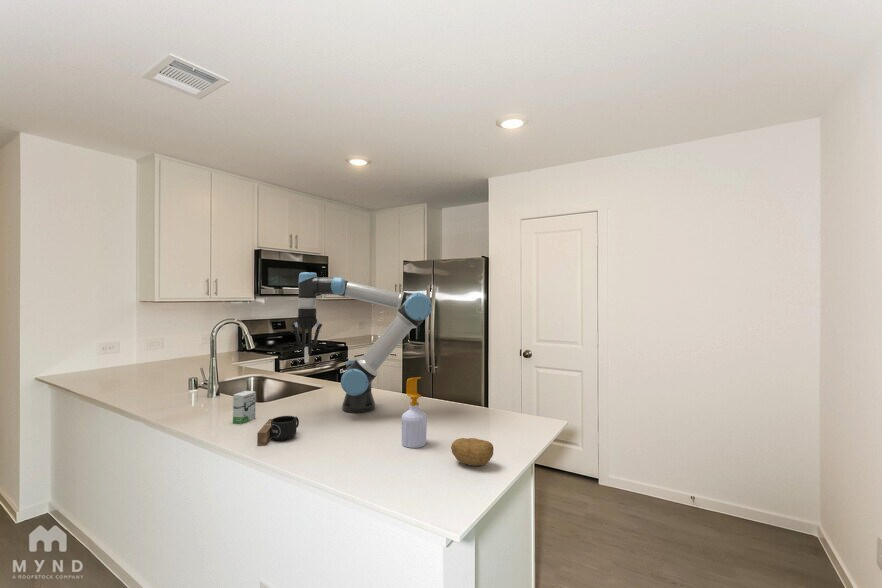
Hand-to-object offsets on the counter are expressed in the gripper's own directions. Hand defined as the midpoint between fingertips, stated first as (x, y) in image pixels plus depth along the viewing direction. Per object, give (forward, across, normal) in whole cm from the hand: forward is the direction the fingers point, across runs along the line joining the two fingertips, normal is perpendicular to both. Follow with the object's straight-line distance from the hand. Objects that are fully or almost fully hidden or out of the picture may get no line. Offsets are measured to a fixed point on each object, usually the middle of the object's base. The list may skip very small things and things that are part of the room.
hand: (306, 361), depth 178 cm
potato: (+25, -61, +56) cm, 86 cm away
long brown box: (+24, +10, +23) cm, 35 cm away
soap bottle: (+25, -44, +36) cm, 62 cm away
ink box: (+25, +25, +1) cm, 35 cm away
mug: (+25, +3, +23) cm, 34 cm away
